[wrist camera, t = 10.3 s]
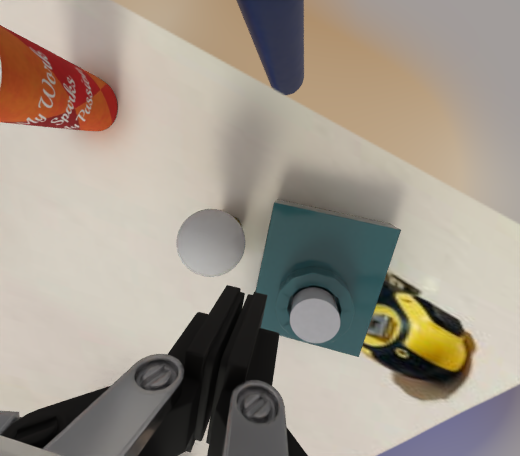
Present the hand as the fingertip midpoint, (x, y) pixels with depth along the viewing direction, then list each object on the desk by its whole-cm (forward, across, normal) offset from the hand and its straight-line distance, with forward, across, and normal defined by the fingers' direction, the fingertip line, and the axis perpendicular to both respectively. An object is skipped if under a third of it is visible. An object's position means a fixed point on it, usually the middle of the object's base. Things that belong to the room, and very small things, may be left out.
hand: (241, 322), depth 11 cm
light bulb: (+20, +5, +2) cm, 20 cm away
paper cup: (+20, +23, -8) cm, 31 cm away
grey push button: (+15, -5, +7) cm, 17 cm away
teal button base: (+19, -5, +5) cm, 21 cm away
